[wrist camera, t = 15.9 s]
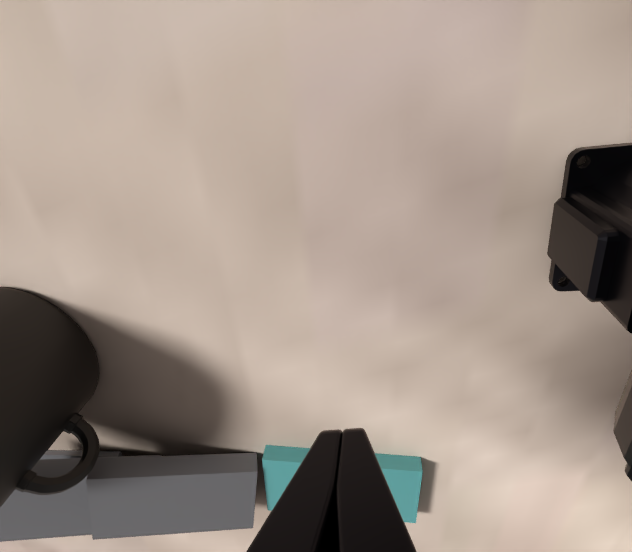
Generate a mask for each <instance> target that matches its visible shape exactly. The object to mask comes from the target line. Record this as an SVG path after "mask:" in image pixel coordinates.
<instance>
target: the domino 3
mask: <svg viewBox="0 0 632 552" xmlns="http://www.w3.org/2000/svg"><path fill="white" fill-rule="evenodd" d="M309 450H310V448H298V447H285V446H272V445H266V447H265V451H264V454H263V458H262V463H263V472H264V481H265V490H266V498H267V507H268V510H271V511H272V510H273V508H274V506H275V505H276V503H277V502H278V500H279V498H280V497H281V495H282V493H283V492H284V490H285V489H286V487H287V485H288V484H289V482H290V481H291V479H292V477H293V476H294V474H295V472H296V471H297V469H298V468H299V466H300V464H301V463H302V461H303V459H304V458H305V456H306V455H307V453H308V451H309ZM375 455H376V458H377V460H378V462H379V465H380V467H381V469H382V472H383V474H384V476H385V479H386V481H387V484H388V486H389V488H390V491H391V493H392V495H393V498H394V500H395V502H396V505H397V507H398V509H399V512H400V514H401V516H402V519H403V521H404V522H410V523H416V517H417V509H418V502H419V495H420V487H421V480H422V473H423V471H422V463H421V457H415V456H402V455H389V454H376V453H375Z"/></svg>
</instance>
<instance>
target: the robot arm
mask: <svg viewBox="0 0 632 552" xmlns="http://www.w3.org/2000/svg"><path fill="white" fill-rule="evenodd" d="M582 156H586V161H585V163H584V164H582V165H580V166H577V161H578V159H579V158H580V157H582ZM547 254H548V256H549V257H550V258H551V259H552V261H551V268H550V275H549V282H550V284H551V285H552V286H553V288H554V289H555V290H557V291H581V293H582V294H583V295H584V296H585V297H586V298H587V299H588V300H590V301H591V302H601V303H602V304H603V305H604V306H605V307H606V308H607V309H608V310H609V311H610V313H611V314H612V315H613V316H614V317H615V318H616V319H617V320H618V321H619V322H620V323H621V324H622V325H623V326H624V327H625V328H626V329H627V330H628V331H629V332H630V333H632V143H623V144H613V145H602V146H591V147H581V148H577V149H575V150H574V151H572V152H571V153H570V154H569V156H568V157H567V160H566V166H565V173H564V180H563V186H562V193H561V198H559V199H558V200H557V202H556V203H555V204H554V210H553V217H552V224H551V231H550V238H549V245H548V252H547ZM562 277H566V279H565V281H563V282H561V283H558V281H559V279H561V278H562ZM614 434H615V436H616V439H617V441H618V444H619V446H620V449H621V452H622V454H623V457H624V459H625V460H626V462H627V464H626V467H625V472H626V474H627V476H628V477H629V478H630V480H631V481H632V371H631V373H630V376H629V379H628V381H627V384H626V386H625V389H624V391H623V394H622V397H621V399H620V402H619V404H618V407H617V410H616V413H615V423H614ZM247 552H416V549H415V547H414V544H413V542H412V540H411V537H410V535H409V533H408V530H407V528H406V526H405V523H404V521H403V519H402V516H401V514H400V512H399V509H398V507H397V505H396V502H395V500H394V498H393V495H392V493H391V491H390V488H389V486H388V484H387V481H386V479H385V476H384V474H383V472H382V469H381V467H380V465H379V462H378V460H377V458H376V455H375V453H374V451H373V448H372V446H371V444H370V441H369V439H368V437H367V434H366V432H365V430H364V429H363V428H354V429H345V430H344V431H343V432H342V431H341V430H325V431H322V432H321V433H320V434H319V435H318V437H317V438H316V440H315V442H314V443H313V445H312V447H311V448H310V450H309V451H308V453H307V455H306V456H305V458H304V459H303V461H302V463H301V464H300V466H299V468H298V469H297V471H296V472H295V474H294V476H293V477H292V479H291V481H290V482H289V484H288V485H287V487H286V489H285V490H284V492H283V493H282V495H281V497H280V498H279V500H278V502H277V503H276V505H275V506H274V508H273V510H272V511H271V513H270V515H269V516H268V518H267V519H266V521H265V523H264V524H263V526H262V527H261V529H260V531H259V532H258V534H257V536H256V537H255V539H254V540H253V542H252V544H251V545H250V547H249V548H248V550H247Z"/></svg>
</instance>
